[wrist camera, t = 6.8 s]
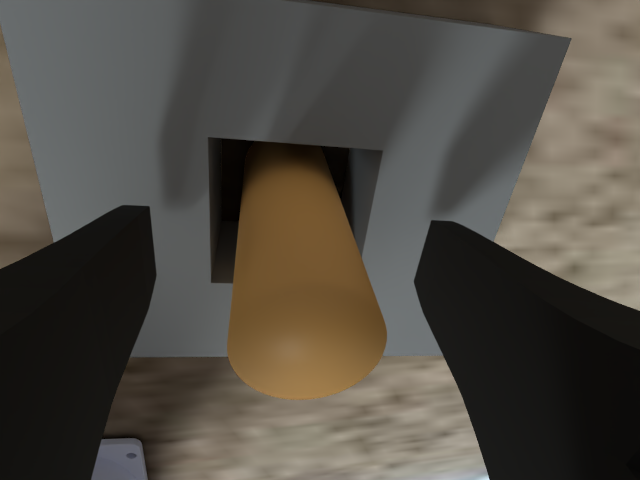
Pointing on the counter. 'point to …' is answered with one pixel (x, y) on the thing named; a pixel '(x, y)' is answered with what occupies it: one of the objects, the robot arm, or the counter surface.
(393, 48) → the socket block
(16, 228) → the counter surface
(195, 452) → the counter surface
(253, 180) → the peg
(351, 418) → the counter surface
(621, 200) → the counter surface
